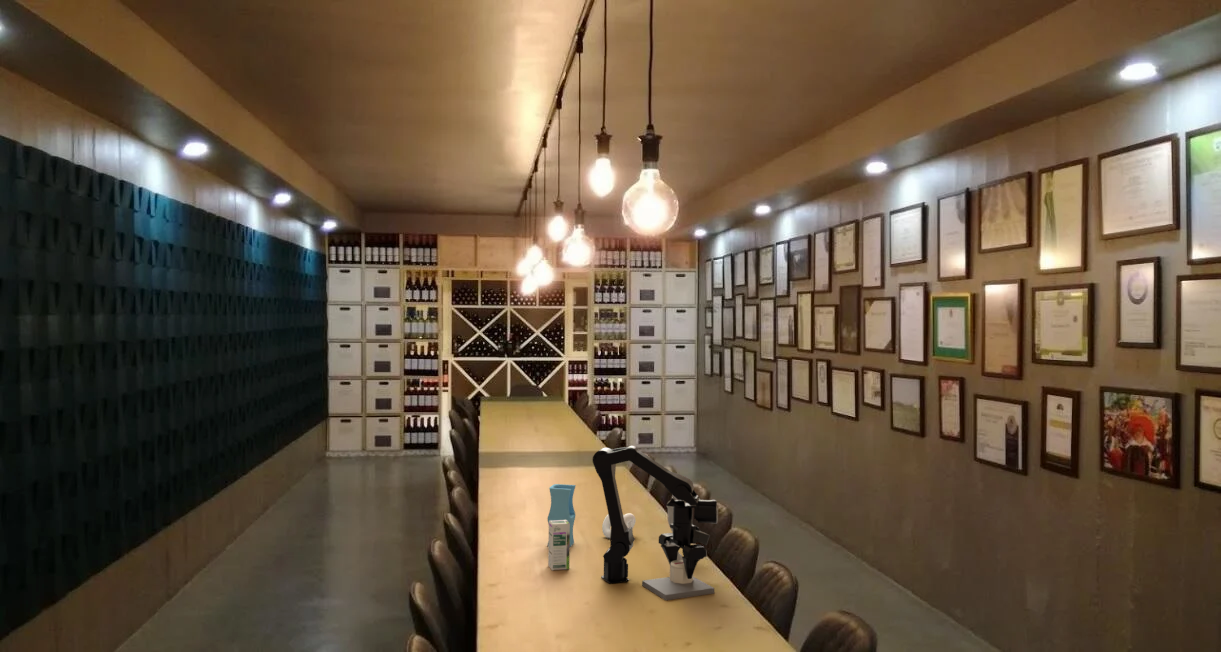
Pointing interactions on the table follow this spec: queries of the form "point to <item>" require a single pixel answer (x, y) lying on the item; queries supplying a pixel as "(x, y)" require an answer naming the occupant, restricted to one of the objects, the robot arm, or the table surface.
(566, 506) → the vase
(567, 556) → the syrup box
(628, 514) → the white rounded lump
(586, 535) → the table surface
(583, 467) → the table surface
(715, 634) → the table surface
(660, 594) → the board
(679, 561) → the knob
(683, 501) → the robot arm
